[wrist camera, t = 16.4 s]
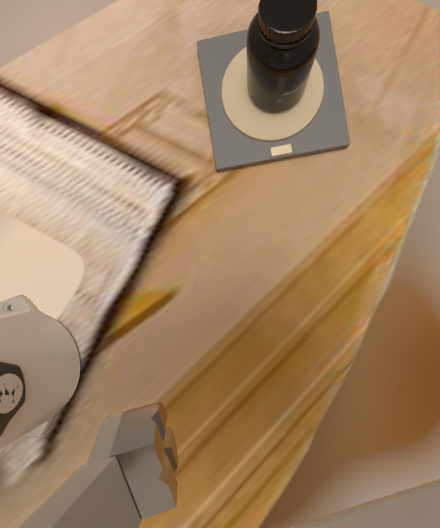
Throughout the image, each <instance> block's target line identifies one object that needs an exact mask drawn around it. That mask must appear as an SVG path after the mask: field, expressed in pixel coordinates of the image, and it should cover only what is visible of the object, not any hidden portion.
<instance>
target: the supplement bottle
mask: <svg viewBox="0 0 440 528" xmlns="http://www.w3.org/2000/svg"><path fill="white" fill-rule="evenodd" d="M316 11H317V0H260V3H259V6H258V12H257V14H256V15H255V16H254V18H253V19H252V21H251V23H250V25H249V28H248V32H247V41H246V46H247V89H248V94H249V96H250V99H251V100H252V102H253V103H254V104H255V105H256V106H257V107H258V108H259V109H261V110H263V111H265V112H269V113H281V112H284V111H287V110H289V109H291V108H292V107H294V106H295V105H296V104H297V103H298V102H299V100H300V99H301V97H302V95H303V93H304V91H305V88H306V85H307V82H308V79H309V75H310V72H311V69H312V66H313V63H314V60H315V57H316V53H317V50H318V47H319V42H320V27H319V23H318V20H317V18H316Z"/></svg>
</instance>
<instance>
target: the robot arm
mask: <svg viewBox="0 0 440 528" xmlns="http://www.w3.org/2000/svg"><path fill="white" fill-rule="evenodd" d="M11 306H13V310H12V309H11ZM79 376H80V358H79V353H78V349H77V347H76V344H75V342H74V340H73V338H72V336H71V335H70V333H69V332H68V331H67V330H66V328H65V327H64V326H63V325H62V324H60V323H59V322H58V321H57V320H55V319H54V318H52V317H50V316H48V315H46V314H44V313H42V312H41V311H39V310H38V309H37V308H36V306H35V305H34V304H33V303H32V302H31V301H30V299H28V298H27V297H25V296H23V295H19V296H16V297H13V298H10V299H8V300H5V301H2V302H0V452H1V451H3V450H4V449H6V448H7V447H9V446H11V445H12V444H14V443H15V442H17V441H18V440H20V439H22V438H23V437H25V436H27V437H39V436H41V435H42V434H44V433H45V432H46V431H47V430H48V429H49V427H50V425H51V422H52V420H53V418H54V416H55V414H56V413H57V412H58V411H59V410H60V409H61V408H62V407H63V406H65V405H66V403H67V402H68V401H69V400H70V399H71V397H72V395H73V394H74V392H75V390H76V387H77V385H78V381H79ZM166 422H167V414H166V411H165V408H164V406H163V404H162V403H161V402H158V403H155V404H151V405H147V406H144V407H140V408H136V409H133V410H129V411H125V412H121V413H118V414H115V415H111V416H108V417H106V418H105V419H104V420H103V423H102V425H101V428H100V431H99V433H98V436H97V439H96V441H95V444H94V447H93V449H92V452H91V455H90V457H89V460H88V462H87V465H84V466H81V467H80V468H79V469H78V470H77V471H76V472H75V473H74V474H73V475H72V476H71V477H70V478H69V479H68V480H67V481H66V482H65V483H64V484H63V485H62V486H61V487H60V488H59V489H58V490H57V491H56V492H55V493H54V494H53V495H52V496H51V497H50V498H49V499H48V500H47V501H46V502H45V503H44V504H43V505H42V506H41V507H40V508H39V509H38V510H37V511H36V512H35V513H34V514H33V515H32V516H31V517H30V518H29V519H28V520H27V521H26V522H25V523H24V524H23V525H22V526H21V527H20V528H139V526H140V524H141V520H142V519H145V518H147V517H150V516H153V515H156V514H159V513H162V512H165V511H168V510H171V509H174V508H176V503H177V480H176V477H175V474H174V472H175V471H176V469H177V468H178V454H177V446H176V441H175V437H174V434H173V431H172V429H171V428H170V427H168V426H167V425H166ZM289 528H440V479H439V480H436V481H433V482H430V483H427V484H423V485H420V486H417V487H414V488H411V489H408V490H405V491H402V492H398V493H395V494H392V495H389V496H386V497H383V498H380V499H377V500H374V501H370V502H367V503H364V504H361V505H358V506H355V507H352V508H348V509H345V510H342V511H339V512H336V513H333V514H330V515H327V516H324V517H320V518H317V519H314V520H311V521H307V522H304V523H301V524H298V525H295V526H292V527H289Z"/></svg>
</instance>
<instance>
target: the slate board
mask: <svg viewBox="0 0 440 528" xmlns="http://www.w3.org/2000/svg"><path fill="white" fill-rule="evenodd" d="M316 18H317V20H318V23H319V27H320V42H319V47H318V50H317V53H316V57H315V60H314V63H313V66H312V69H311V72H310V75H309V79H308V82H307V85H306V88H305V91H304V93H303V95H302V97H301V99H300V100H299V102H298V103H297V104H296V105H295V106H294V107H292V108H291V109H289V110H287V111H284V112H281V113H269V112H265V111H263V110H261V109H259V108H258V107H257V106H256V105H255V104H254V103H253V102H252V100H251V99H250V96H249V94H248V89H247V46H246V41H247V32H248V30H244V31H239V32H235V33H231V34H227V35H222V36H218V37H214V38H209V39H205V40H201V41H197V47H198V53H199V60H200V66H201V73H202V79H203V85H204V92H205V98H206V104H207V111H208V117H209V124H210V130H211V136H212V143H213V149H214V156H215V162H216V168H217V171H218V172H220V171H225V170H231V169H236V168H241V167H247V166H252V165H257V164H263V163H268V162H273V161H278V160H284V159H289V158H294V157H300V156H305V155H310V154H316V153H321V152H326V151H332V150H337V149H342V148H347V147H348V146H349V145H350V140H349V134H348V128H347V121H346V115H345V109H344V103H343V97H342V90H341V84H340V78H339V72H338V66H337V59H336V53H335V47H334V41H333V35H332V28H331V22H330V16H329V11H325V12H321V13H317V14H316Z"/></svg>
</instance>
